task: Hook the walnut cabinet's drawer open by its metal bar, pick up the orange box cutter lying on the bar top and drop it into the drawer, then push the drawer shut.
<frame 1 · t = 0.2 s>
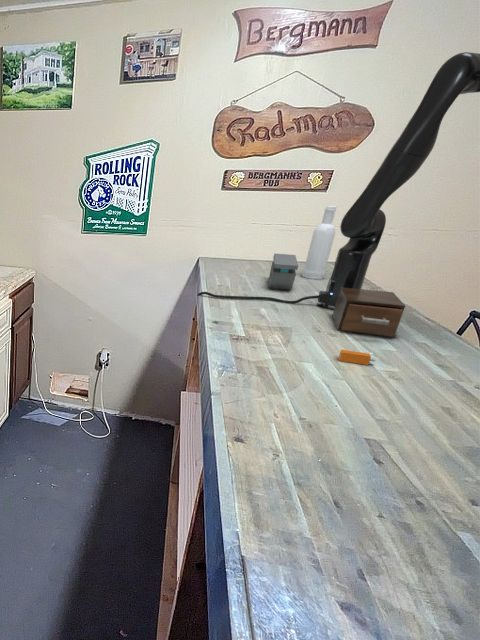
cabinet: (361, 325, 142), on the bar counter
drawer: (368, 315, 136), point 5 cm above the bar counter, slide at 1.0 cm
bottle: (312, 277, 203), on the bar counter
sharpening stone: (279, 286, 189), on the bar counter
box cutter: (352, 361, 117), on the bar counter
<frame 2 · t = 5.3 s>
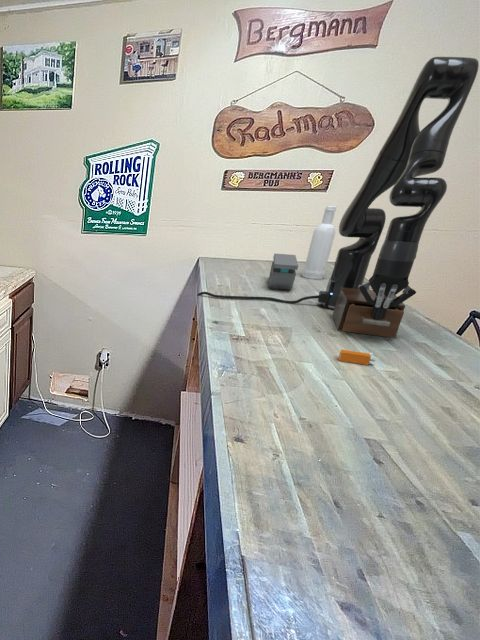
hand: (376, 319, 128), 6 cm above the bar counter, tool pointing down, fingers closed
drawer: (369, 316, 135), point 5 cm above the bar counter, slide at 2.2 cm, touching gripper
everything else where it was.
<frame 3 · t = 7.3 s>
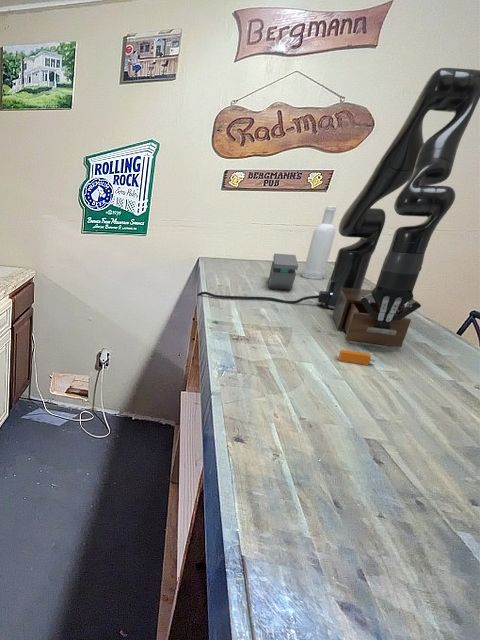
hand: (378, 333, 123), 5 cm above the bar counter, tool pointing down, fingers closed
drawer: (373, 324, 129), point 5 cm above the bar counter, slide at 10.3 cm
everything else where it was.
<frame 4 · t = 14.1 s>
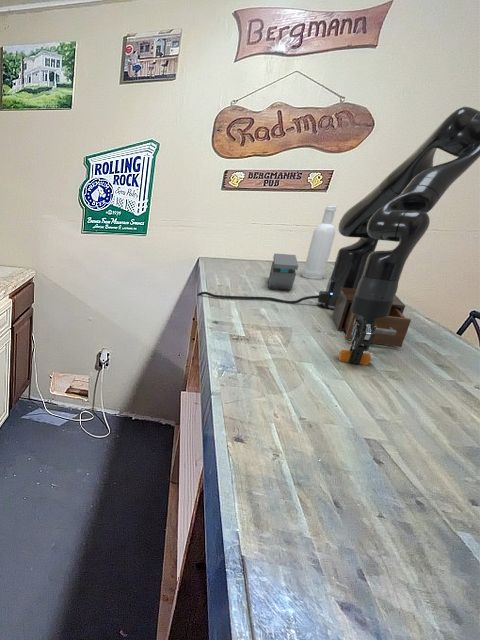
hand: (352, 361, 117), 0 cm above the bar counter, tool pointing down, fingers closed on box cutter, 2 cm apart
box cutter: (352, 361, 117), on the bar counter, touching gripper
everything else where it was.
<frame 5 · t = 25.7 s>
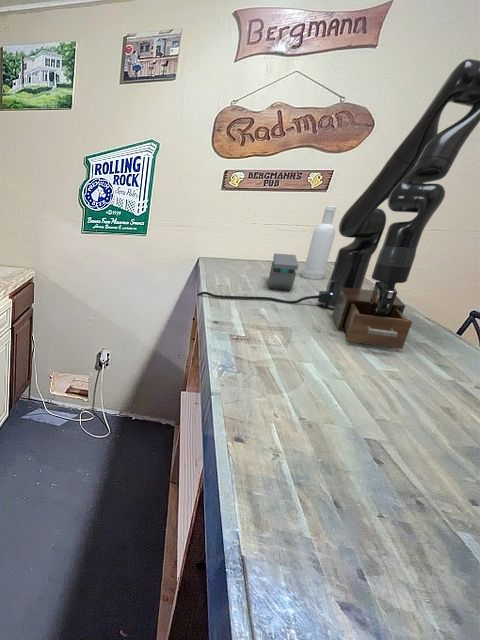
hand: (374, 322, 129), 5 cm above the bar counter, tool pointing down, fingers open, 6 cm apart
drawer: (374, 325, 128), point 5 cm above the bar counter, slide at 11.7 cm, touching box cutter
box cutter: (371, 334, 130), point 2 cm above the bar counter, touching drawer
everything else where it was.
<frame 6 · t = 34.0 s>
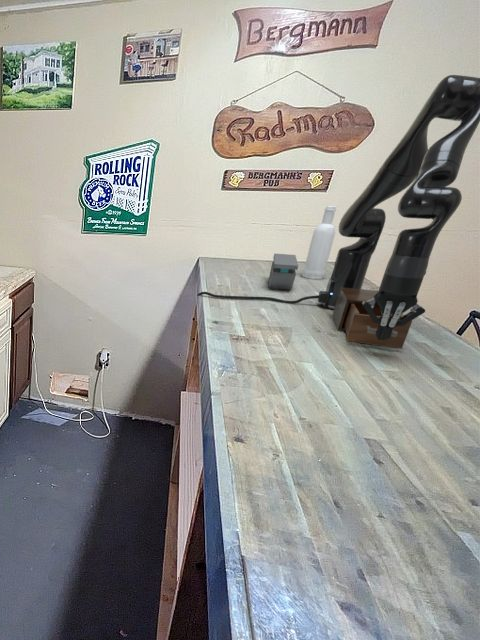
hand: (381, 339, 119), 4 cm above the bar counter, tool pointing down, fingers closed
drawer: (374, 325, 128), point 5 cm above the bar counter, slide at 11.5 cm, touching box cutter, gripper
everything else where it was.
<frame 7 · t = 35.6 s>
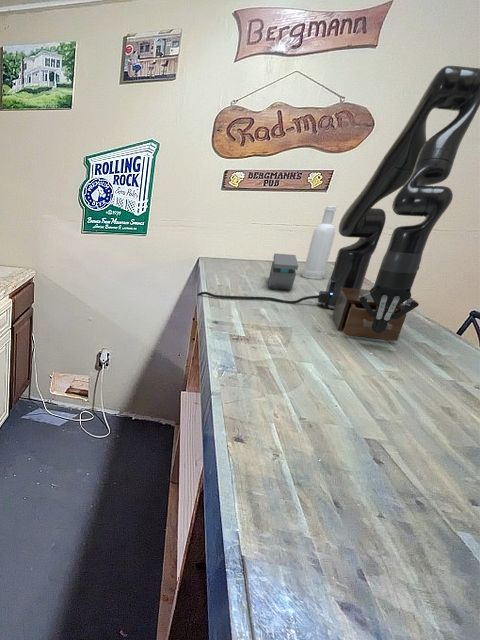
hand: (376, 331, 124), 4 cm above the bar counter, tool pointing down, fingers closed
drawer: (370, 319, 133), point 5 cm above the bar counter, slide at 5.1 cm, touching box cutter, gripper
box cutter: (367, 327, 135), point 2 cm above the bar counter, touching drawer
everything else where it was.
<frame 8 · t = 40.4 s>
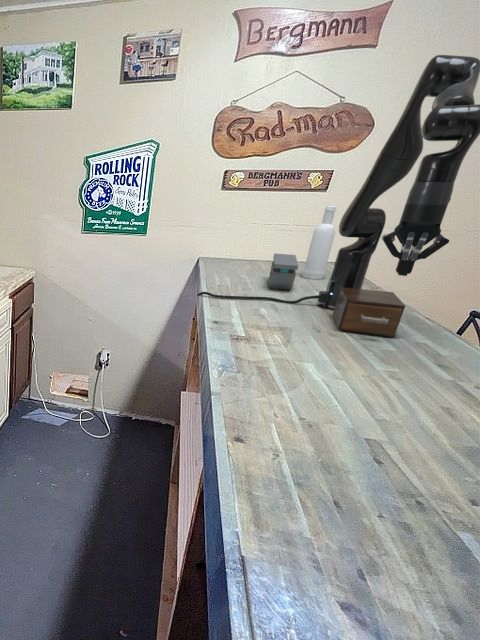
hand: (401, 275, 114), 21 cm above the bar counter, tool pointing down, fingers closed
drawer: (367, 314, 137), point 5 cm above the bar counter, slide at 0.0 cm, touching box cutter
box cutter: (365, 322, 139), point 2 cm above the bar counter, touching drawer
everything else where it was.
at the end: drawer pulled out 12.1 cm at the most during the clip, back to where it started at the end; box cutter inside the target area in the cabinet (2.5 cm from its centre), point 2.0 cm above the cabinet's base; drawer slide at 0.0 cm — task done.
